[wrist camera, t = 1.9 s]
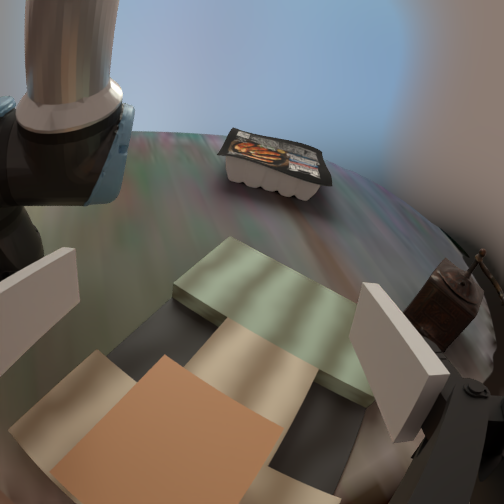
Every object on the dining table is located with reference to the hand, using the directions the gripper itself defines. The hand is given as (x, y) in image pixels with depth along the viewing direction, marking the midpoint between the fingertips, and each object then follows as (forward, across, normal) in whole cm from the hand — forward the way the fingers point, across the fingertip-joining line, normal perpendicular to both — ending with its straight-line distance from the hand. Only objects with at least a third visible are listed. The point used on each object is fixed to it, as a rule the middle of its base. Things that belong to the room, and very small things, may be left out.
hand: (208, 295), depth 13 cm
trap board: (+14, +2, -18) cm, 23 cm away
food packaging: (+67, +4, +2) cm, 67 cm away
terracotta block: (+1, -3, -19) cm, 19 cm away
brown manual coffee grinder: (+30, +36, -17) cm, 50 cm away
